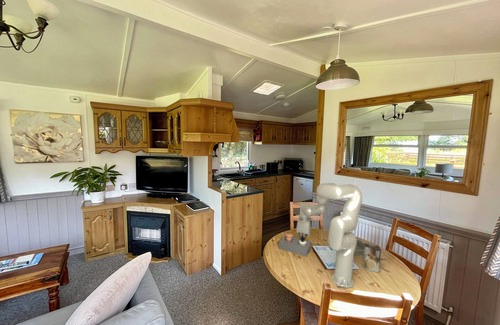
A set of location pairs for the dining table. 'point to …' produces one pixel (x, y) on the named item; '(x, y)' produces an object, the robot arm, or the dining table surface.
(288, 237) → the plunger terracotta
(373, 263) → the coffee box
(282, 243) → the console
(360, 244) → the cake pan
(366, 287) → the dining table surface
